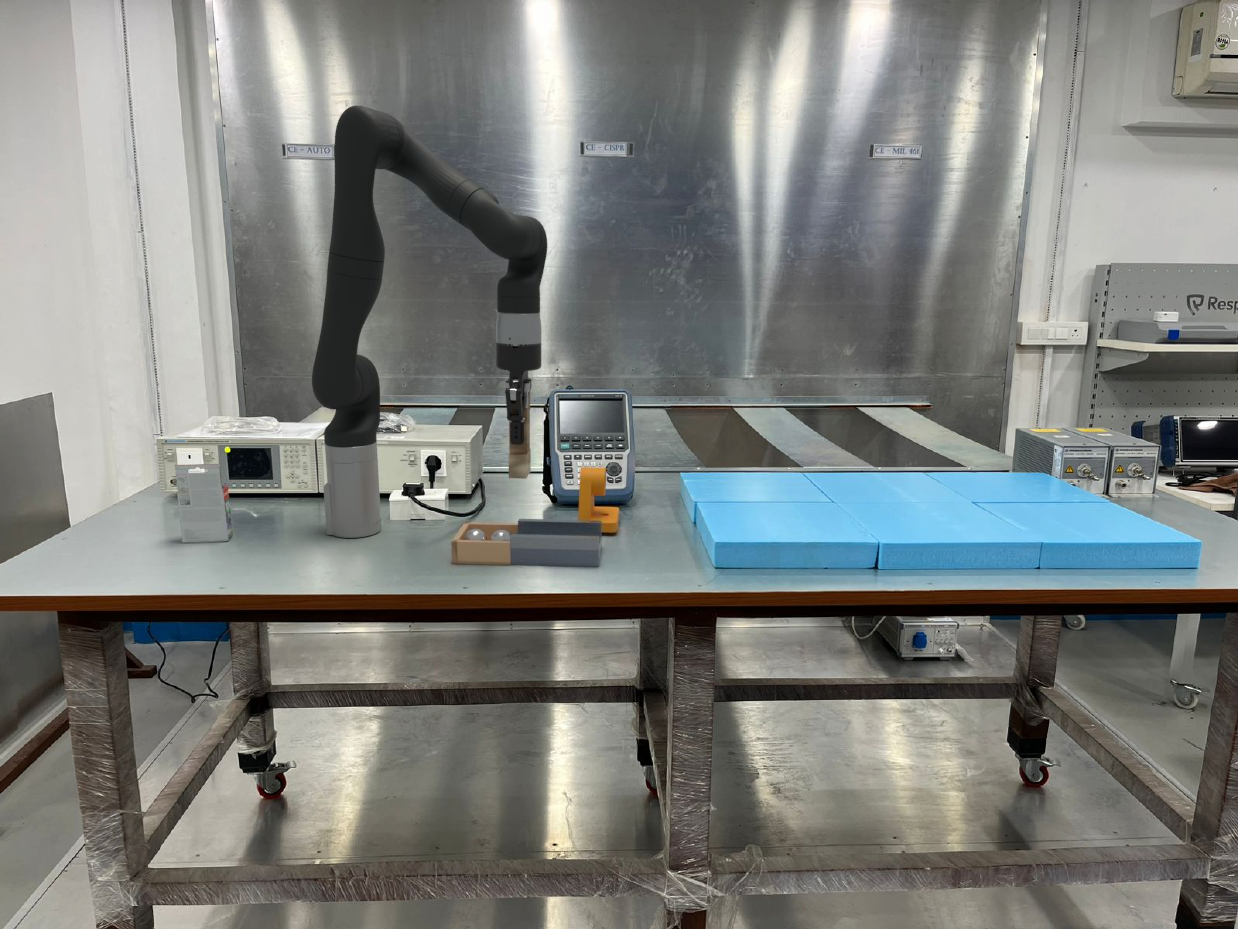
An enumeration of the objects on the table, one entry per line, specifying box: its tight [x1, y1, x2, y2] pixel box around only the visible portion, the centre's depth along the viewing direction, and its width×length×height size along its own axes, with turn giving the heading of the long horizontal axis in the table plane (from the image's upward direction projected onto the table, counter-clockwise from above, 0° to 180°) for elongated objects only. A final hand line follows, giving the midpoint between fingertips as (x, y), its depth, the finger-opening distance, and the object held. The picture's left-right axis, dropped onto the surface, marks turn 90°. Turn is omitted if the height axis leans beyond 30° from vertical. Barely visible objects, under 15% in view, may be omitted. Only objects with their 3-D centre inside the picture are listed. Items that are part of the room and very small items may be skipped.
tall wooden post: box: [508, 393, 532, 480], centre depth 144 cm, size 3×6×14 cm, turn 178°
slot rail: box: [510, 518, 603, 568], centre depth 148 cm, size 15×10×5 cm
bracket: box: [577, 466, 620, 534], centre depth 164 cm, size 11×7×12 cm, turn 177°
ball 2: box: [490, 530, 511, 541], centre depth 148 cm, size 4×4×4 cm
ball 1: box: [464, 529, 487, 541], centre depth 148 cm, size 4×4×4 cm
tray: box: [450, 521, 518, 566], centre depth 148 cm, size 10×11×4 cm
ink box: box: [174, 463, 234, 544], centre depth 152 cm, size 4×8×15 cm, turn 100°
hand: (519, 441), depth 144 cm, fingers closed on tall wooden post, 3 cm apart
